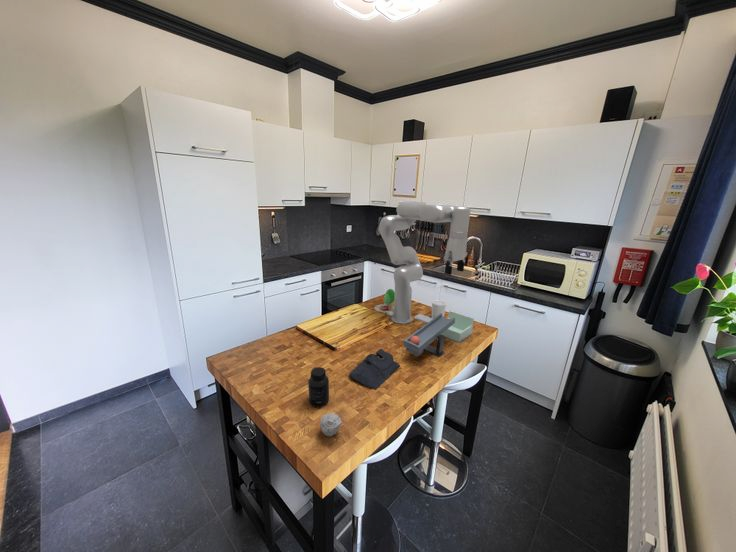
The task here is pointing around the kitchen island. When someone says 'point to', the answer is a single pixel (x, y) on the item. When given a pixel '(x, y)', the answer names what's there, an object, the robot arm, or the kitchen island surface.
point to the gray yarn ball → (330, 424)
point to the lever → (427, 332)
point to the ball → (415, 340)
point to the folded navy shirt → (375, 369)
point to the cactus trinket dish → (387, 301)
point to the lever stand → (439, 349)
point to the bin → (459, 327)
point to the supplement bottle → (318, 387)
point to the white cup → (438, 308)
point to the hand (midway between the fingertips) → (454, 272)
